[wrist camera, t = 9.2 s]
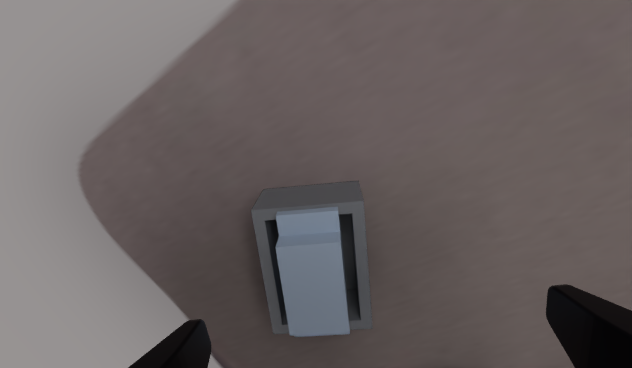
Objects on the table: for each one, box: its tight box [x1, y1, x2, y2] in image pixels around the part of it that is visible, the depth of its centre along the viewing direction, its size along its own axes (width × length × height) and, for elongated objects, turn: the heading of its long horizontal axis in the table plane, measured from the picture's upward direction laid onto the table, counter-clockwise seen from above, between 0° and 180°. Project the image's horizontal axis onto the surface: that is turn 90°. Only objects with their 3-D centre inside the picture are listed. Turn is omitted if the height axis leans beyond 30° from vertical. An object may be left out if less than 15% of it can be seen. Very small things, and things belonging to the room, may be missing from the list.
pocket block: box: [251, 181, 373, 334], centre depth 19 cm, size 8×6×3 cm
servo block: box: [275, 207, 350, 337], centre depth 18 cm, size 7×3×4 cm, turn 7°
